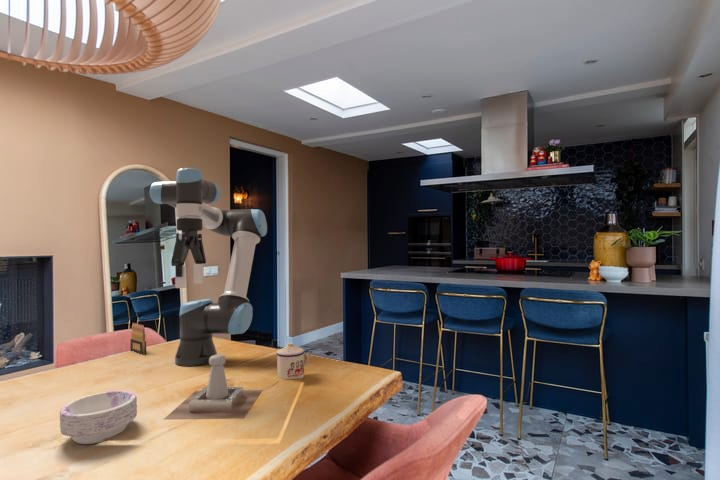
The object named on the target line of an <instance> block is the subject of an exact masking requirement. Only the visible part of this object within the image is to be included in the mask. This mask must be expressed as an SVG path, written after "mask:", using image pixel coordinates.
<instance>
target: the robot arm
mask: <svg viewBox="0 0 720 480" xmlns="http://www.w3.org/2000/svg"><path fill="white" fill-rule="evenodd" d="M175 178H176V180H171V181H167V180H166V181H165V180H162V181H156V182H153V183H152V184H151V185H150V187H149V197H150V199H151V201H152V202H153V203H155V204H159V205H164V204H165V205H168V206H171V207H173V208H175V209H176V211H175V213H176V214H175V215H176V217H177V219H176V230H177V231H181V232H176V233H175V234H176V235H175V244H174V248H173V251H172V252H173V253H172V256H171V262H170V264H171V266H172V267H174V269H175V270H174V273H175V274H174V276H175V277H174V278H175V279H174V283H175V286H174V287H175V289H185V288H186V286H187V285H186V271H187V270H186V265H185V264H186V263H185V262H186V259H187V257H188V254H189V250H190V252H191V256H192V257H193V261H194V264H193V284H194V285H197V284H198V285H199V284H200V285H203V284H204V264H205V265H206V263H207V261H206V260H207V259H206V258H207V257H206V254H205V249H204V243H203V237H202V236H203V235H202V233H198V231H202V230H203V227H204V229H207V230H208V231H211V232H213V233H215V234H218V235H220V236H221V235H222V236H224V237H231V238H232V239H233V242H234V244H233V247H232V252H231V257H230V262H229V267H228V271H227V275H226V281H225V286H224V291H223V293H222V294H221V295H219V296H218V300H217V302H213V299H212V298H206V299H205V298H203V299H197V300H191V301H186V302H184V303H182V304H181V305H180V307H179V315H178V316H179V344H178V347H177V350H176V353H175V357H174V364H175V365H177V366H183V367H193V366H194V367H195V366H202V365H207V364H209V358H210V357H211V356H213V355H218V351H217V348H216V346H215V343H214V341H213V335H217V334H218V335H239V334H240V335H241V334H244V333H245V332H247V330H248V329H249V327H250V326H251V323H252V320H253V315H254V314H253V311H254V309H253V306H252V304H251V303H250V300H249V298H248V297H247V294H248V288H249V284H250V283H249V282H250V279H251V278H250V277H251V272H252V268H253V267H252V266H253V261H254V255H255V250H256V245H257V244H259V243H260V242H261V238H262V237H265V236H266V235H267V233H268V223H267V219H266V215H265V213H264V211H262V210H261V209H253V208H251V209H249V208H248V209H220V208H218V207H216V206H215V207H213V206H211V204H215V203H218V201H219V199H221V196H222V195H221V194H222V192H221V191H222V190H221V188H220V186H219V185H218V184H216V183H215V182H213V181H210V180H206V179H203V178H204V177H203V172H202V171H201V169H198V168H192V167H183V168H179V169H177V171H176V177H175Z"/></svg>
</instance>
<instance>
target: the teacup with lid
mask: <svg viewBox="0 0 720 480" xmlns="http://www.w3.org/2000/svg"><path fill="white" fill-rule="evenodd" d="M276 355H277V357H276V359H277V362H276V363H277V367H276V368H277V370H276V371H277V379H278V380H279V379H281V380H294V379H304V378H305V374H304V373H305V372H304V371H305V367H306V365H307V364H308V362H309V355H308V353H306V352H305V350H304V349H303V348H302V347H298V346H297V345H295V344H294V342H288V343H287V345H284V347H282V348H279V349H278V350H277V351H276Z"/></svg>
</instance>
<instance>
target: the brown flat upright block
mask: <svg viewBox="0 0 720 480" xmlns="http://www.w3.org/2000/svg"><path fill="white" fill-rule="evenodd" d="M130 333H131V335H130V337H131V338H130V344H129V345H130V347H129V348H130V349H129V351H130V352H132V351H134V352H133V353H135V352H136V354H138V353H139V355H141V354H143V355H147V341H146V332H145V326H144V324H140V323H136V322H132V325H131V332H130Z"/></svg>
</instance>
